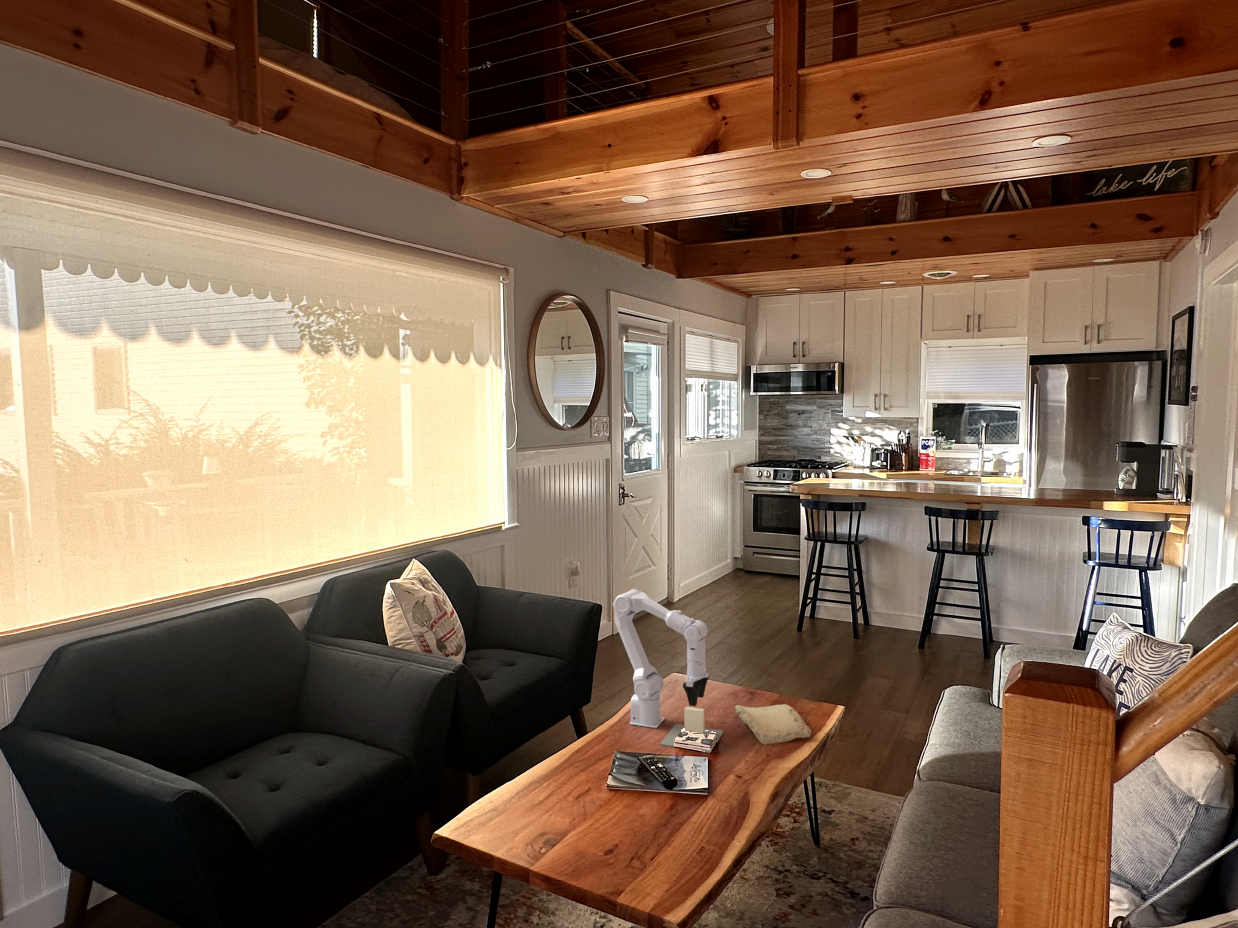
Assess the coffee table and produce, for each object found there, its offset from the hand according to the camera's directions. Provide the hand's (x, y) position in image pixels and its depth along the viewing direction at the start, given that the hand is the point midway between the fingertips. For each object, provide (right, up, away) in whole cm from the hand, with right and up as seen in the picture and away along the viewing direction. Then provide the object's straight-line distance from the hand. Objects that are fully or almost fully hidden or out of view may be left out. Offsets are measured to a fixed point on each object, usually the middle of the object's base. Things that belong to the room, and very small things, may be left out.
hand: (696, 701), depth 250 cm
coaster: (-1, -10, -1) cm, 10 cm away
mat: (-2, -11, -4) cm, 11 cm away
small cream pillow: (+24, -10, +4) cm, 27 cm away
